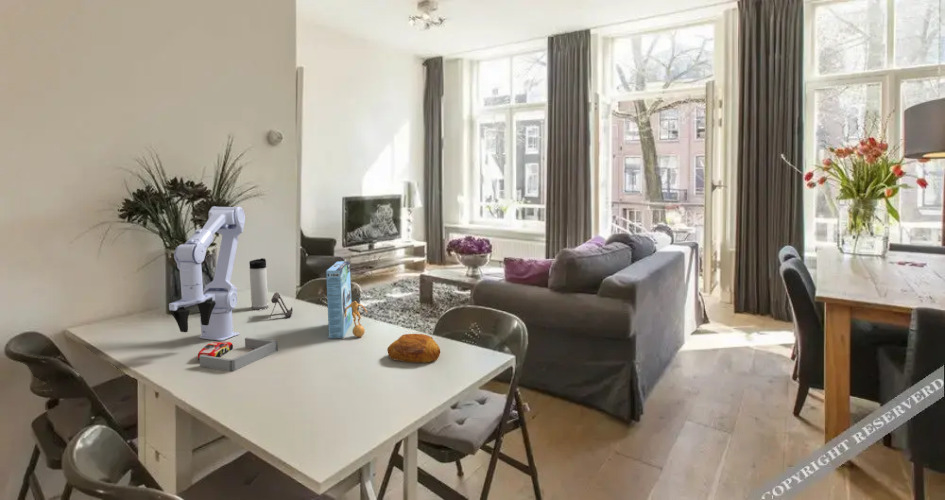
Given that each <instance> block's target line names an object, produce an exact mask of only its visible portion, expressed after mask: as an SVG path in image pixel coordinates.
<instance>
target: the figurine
mask: <svg viewBox="0 0 945 500" xmlns="http://www.w3.org/2000/svg"><path fill="white" fill-rule="evenodd" d="M350 307H351V308H352V319H353V324H354V327H352V335H353V336H354V337H356V338H361V337H363V336H364V335H365V332H366V331H365V327H364V326H363V325H362V324H361V321H360V320H361V319H362V316H361V314H360V310H358V308H359V307H362V309H363V310H364V311H365V312H366V314H368V310H367V309H366V308H365V307H364V305H363V304H361V303H359V302H357V301H356V300H354V301H351V304H350V305H349V306H348V307H346V308H345V316H347V315H346V311H347V309H348V308H350ZM345 318H346V317H345ZM356 320H357V322H358V324H357V322H356Z"/></svg>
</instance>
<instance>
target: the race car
mask: <svg viewBox="0 0 945 500" xmlns="http://www.w3.org/2000/svg"><path fill="white" fill-rule="evenodd" d="M233 347H234V344H233V343H232V342H230V341H217V342H215V341H214V342H209V343H207V344H206V345H205V346H204V347H203V348H201V349H200V351H198V353H197V361H200V359H199V356H201V355H207V356H213V357H220V358H222V356H223V355H225V354H227V353H228V352H230V351H232V350H233V349H234V348H233Z"/></svg>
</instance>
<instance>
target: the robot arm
mask: <svg viewBox="0 0 945 500" xmlns="http://www.w3.org/2000/svg"><path fill="white" fill-rule="evenodd" d="M245 223H246V214H245V211H244V209H243V208H242V206H215V205H214V206H211V208H210V209H209V211H208V219H207V220H206V222H205V223H204V225H203V227H202V228H197V229H195V230H194V232H193V233H192V235H190V236H189V238H188V239H187V241H185V242H184V244H182V243H181V244H179V245H178V246H176V247H175V249H174V253H173V258H174V261H175V263H176V267H177V269H178V270H179V278H180V279H179V280H180V292H181V293H180V294H181V298H180V299H179V300H176V301H173V302H170V303H168V309H169V313H170V314H171V316H172V317H173V318H174V320H175V321H176V323H177V326H178V329H179V331H180V332H181V333H188V331H189V323H188V322H189V315H190V312H191V311H190V309H186V307H191V306H195V305H197V308H198V311H199V314H200V321H199V322H200V331H201V332H200V333H201V334H200V336H199V338H200V339H205V340H212V341H217V342H223V341H224V340H228V339H231V338H232V337H235V336H238V335H240V332H238V331H237V332H236V331H235V332H234V324H233V323H234V322H233V320H234V319H233V310H234V309H235V308H236V306H237V304H238V288H237V287H236V286H235V285H234V284H233V283H232V282H231V280H232V275H233V270H234V265H235V259H236V254H237V249H238V243H239V238H240V235H242V233H244V228H245ZM216 233H217V234H219V235H220V236H221V241H220V246H219V251H218V255H217V260H216V267H215V271H214V277H213V280H212V281H210V282H209V283H207V284H206V285H204V284H203V272H202V271H203V269H202V263H203V262H204V261H205V258H206V254H207V249H208V248H209V247H210V246H211V244H212V243H213V241H214V235H215V234H216Z"/></svg>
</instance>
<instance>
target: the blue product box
mask: <svg viewBox="0 0 945 500" xmlns="http://www.w3.org/2000/svg"><path fill="white" fill-rule="evenodd" d="M325 274H326V276H325V277H326V297H327V298H326V301H327V319H328V320H327V321H328V323H327V324H328V339H344V337H345V335H346V333H347V332H348V330H349V328H350V327H351V325H352V323H353V315H352V312H353V310H352V308H351V307H350V308H348V309H347V311H346V315H347V316H345V308H346V307H348V306H349V305H350V304H351V303H352V288H351V287H352V285H351V262H350V261H348V260H346V261H345V260H344V261H343V260H342V261H336V262H335V263H334V264H333V265H331V266H330V267H329V268H328V269H326V271H325ZM345 317H346V318H345Z"/></svg>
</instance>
